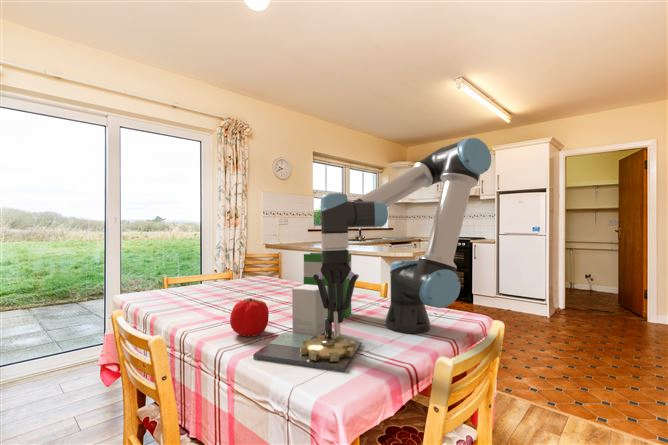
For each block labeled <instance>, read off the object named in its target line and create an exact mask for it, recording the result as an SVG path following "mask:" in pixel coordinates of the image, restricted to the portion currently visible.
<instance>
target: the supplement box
mask: <svg viewBox="0 0 668 445" xmlns="http://www.w3.org/2000/svg"><path fill="white" fill-rule="evenodd" d="M325 287H326V291H327V294H328V286H325ZM291 291H292V292H291V294H292V295H291V296H292V299H291V300H292V304H291V305H292V308H291V309H292V312H291V313H292V334H300V335H309V336H315V337H318V336H320V335H322V334H325V317H328V309H325V308H324V307H323V303H322V299H321V296H320V292H319V288H318V285H308V284H305V285H304V284H302V285H299V286H295V287H293V288H292V289H291Z"/></svg>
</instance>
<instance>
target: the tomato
mask: <svg viewBox="0 0 668 445" xmlns="http://www.w3.org/2000/svg"><path fill="white" fill-rule="evenodd" d="M269 314H270V313H269V308H268V305H267V303H266V302H265V301H263V300H259V299H255V298H245V299H243V300H239V302H238V301H237V303H235V304H234V306H233V307H232V310H231V312H230V318H229V323H230V324H229V325H230V326H231V327H230V328H231V329H232V330H233V332H234V333H236V334H238V335H240V336H244V337H247V338H249V337H256V336H258V335H261V334H262V333H264V332H265V330H266V328H267V326H268V323H269V318H270V316H269Z"/></svg>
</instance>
